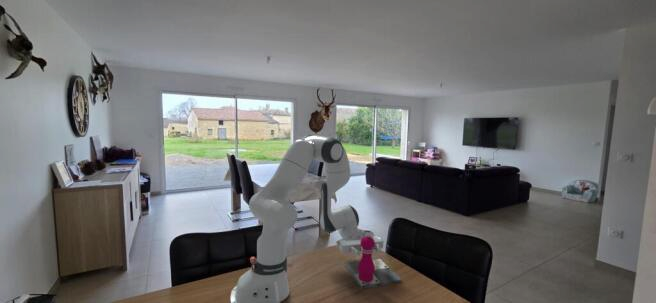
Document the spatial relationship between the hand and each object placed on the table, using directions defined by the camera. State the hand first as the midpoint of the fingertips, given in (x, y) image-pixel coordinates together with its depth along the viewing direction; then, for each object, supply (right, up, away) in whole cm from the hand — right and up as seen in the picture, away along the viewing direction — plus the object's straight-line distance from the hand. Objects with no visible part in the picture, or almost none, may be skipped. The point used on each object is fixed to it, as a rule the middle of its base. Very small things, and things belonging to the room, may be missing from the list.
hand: (368, 252), depth 116 cm
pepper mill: (-1, -12, +2) cm, 12 cm away
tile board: (+3, -13, +8) cm, 15 cm away
